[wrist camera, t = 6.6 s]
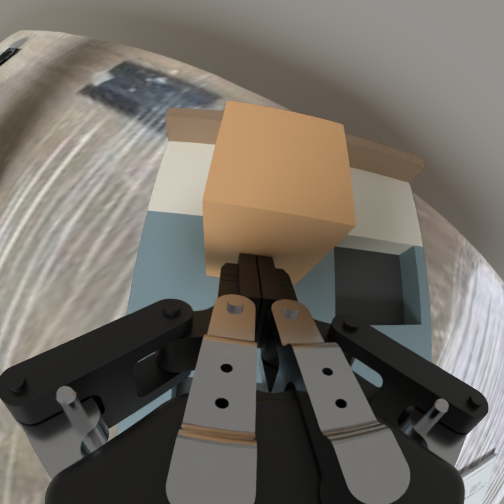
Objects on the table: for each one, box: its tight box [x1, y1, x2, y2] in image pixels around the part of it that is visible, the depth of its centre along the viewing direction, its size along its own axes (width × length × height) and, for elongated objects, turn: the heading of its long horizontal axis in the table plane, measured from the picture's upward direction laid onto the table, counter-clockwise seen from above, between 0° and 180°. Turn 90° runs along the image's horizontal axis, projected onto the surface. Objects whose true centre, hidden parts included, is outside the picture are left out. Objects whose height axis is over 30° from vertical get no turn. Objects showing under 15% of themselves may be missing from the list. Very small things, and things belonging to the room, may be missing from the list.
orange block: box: [202, 101, 356, 286], centre depth 13 cm, size 5×5×8 cm
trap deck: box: [118, 108, 431, 435], centre depth 16 cm, size 20×24×5 cm
